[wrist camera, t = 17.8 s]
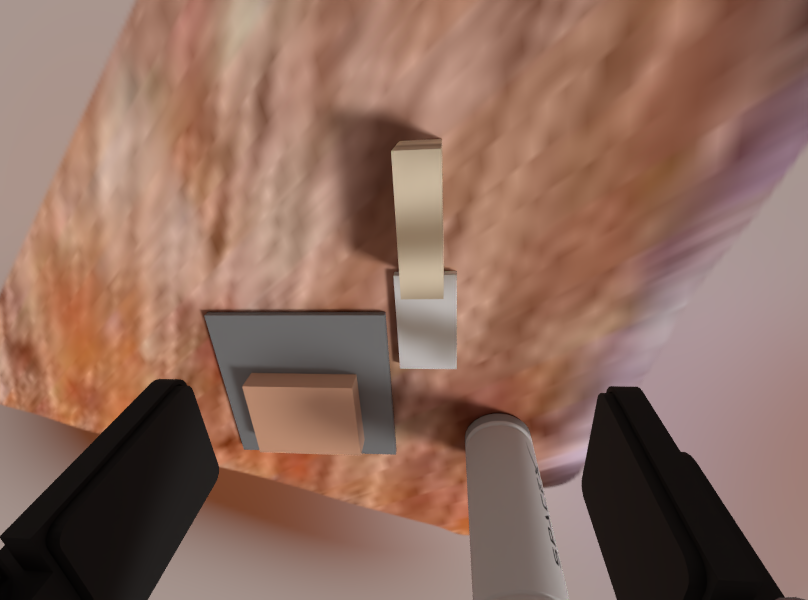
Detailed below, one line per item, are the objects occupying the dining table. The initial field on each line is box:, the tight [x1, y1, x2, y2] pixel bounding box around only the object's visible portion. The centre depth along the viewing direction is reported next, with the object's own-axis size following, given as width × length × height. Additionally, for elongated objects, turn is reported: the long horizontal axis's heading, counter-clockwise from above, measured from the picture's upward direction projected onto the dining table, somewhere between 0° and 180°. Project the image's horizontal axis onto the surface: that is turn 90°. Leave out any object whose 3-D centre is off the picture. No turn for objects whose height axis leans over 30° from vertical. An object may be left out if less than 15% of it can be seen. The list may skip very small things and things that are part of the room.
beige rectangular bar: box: [391, 139, 457, 369], centre depth 32 cm, size 19×5×5 cm, turn 3°
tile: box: [242, 373, 365, 455], centre depth 40 cm, size 2×10×8 cm
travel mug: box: [465, 414, 569, 600], centre depth 33 cm, size 6×7×20 cm
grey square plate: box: [204, 312, 396, 455], centre depth 41 cm, size 16×16×1 cm
